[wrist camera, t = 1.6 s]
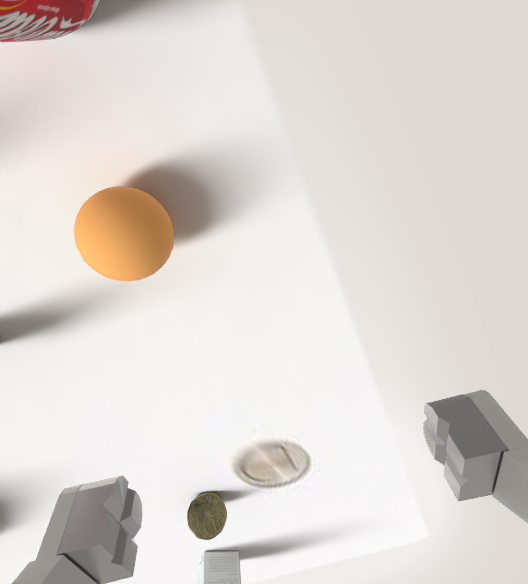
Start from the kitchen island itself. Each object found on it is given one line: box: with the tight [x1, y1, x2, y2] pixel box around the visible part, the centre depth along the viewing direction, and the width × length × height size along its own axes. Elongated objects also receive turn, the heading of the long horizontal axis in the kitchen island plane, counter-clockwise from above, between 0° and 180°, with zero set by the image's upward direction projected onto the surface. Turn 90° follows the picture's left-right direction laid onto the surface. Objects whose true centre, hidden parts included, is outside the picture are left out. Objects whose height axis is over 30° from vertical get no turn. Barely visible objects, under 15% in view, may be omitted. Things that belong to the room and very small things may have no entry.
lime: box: [187, 493, 227, 540], centre depth 48 cm, size 4×5×5 cm
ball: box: [74, 187, 174, 281], centre depth 24 cm, size 6×6×6 cm
